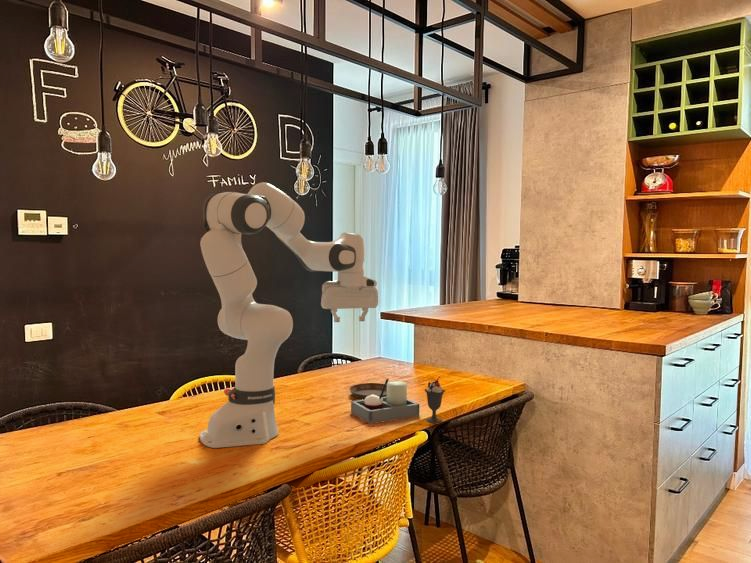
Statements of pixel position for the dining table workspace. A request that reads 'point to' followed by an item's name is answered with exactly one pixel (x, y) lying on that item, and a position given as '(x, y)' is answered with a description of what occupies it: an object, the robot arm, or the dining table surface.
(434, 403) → the sundae
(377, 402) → the cocoa
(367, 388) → the plant saucer
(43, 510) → the dining table surface
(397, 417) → the caddy
